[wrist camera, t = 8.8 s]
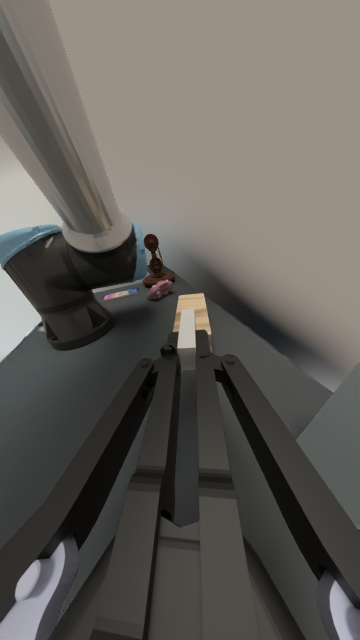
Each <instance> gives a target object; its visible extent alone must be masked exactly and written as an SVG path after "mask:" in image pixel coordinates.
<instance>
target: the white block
mask: <svg viewBox="0 0 360 640" xmlns="http://www.w3.org/2000/svg"><path fill="white" fill-rule="evenodd" d="M296 442H297V443H298V445H299V446H300V447H301V449H302V450H303V452H304V453H305V455H306V456H307V457H308V459H309V460H310V462H311V463H312V465H313V466H314V467H315V469H316V470H317V472H318V473H319V475H320V476H321V478H322V479H323V480H324V482H325V483H326V485H327V486H328V488H329V489H330V490H331V492H332V493H333V495H334V496H335V498H336V499H337V500H338V502H339V503H340V505H341V506H342V508H343V509H344V510H345V512H346V513H347V515H348V516H349V518H350V519H351V520H352V522H353V523H354V525H355V526H356V528H357V529H359V530H360V361H359V362H358V363H357V365H356V366H355V367H354V368H353V370H352V371H351V372H350V373H349V375H348V376H347V377H346V378H345V380H344V381H343V382H342V383H341V385H340V386H339V387H338V389H337V390H336V391H335V392H334V393H333V395H332V396H331V397H330V398H329V400H328V401H327V402H326V403H325V405H324V406H323V407H322V408H321V410H320V411H319V412H318V413H317V415H316V416H315V417H314V418H313V420H312V421H311V422H310V423H309V425H308V426H307V427H306V428H305V430H304V431H303V432H302V433H301V435H300V436H299V437H298V438H297V440H296Z"/></svg>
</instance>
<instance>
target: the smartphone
mask: <svg viewBox="0 0 360 640" xmlns="http://www.w3.org/2000/svg"><path fill="white" fill-rule="evenodd" d="M139 293H140V291H139V288H134V289H130V290H126V291H121V292H117V293H113V294H108V295H105V296H104V297H103V299H102V302H106V301H111V300H115V299H119V298H123V297H128V296H132V295H136V294H139Z"/></svg>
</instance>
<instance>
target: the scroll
mask: <svg viewBox="0 0 360 640" xmlns="http://www.w3.org/2000/svg"><path fill="white" fill-rule="evenodd" d="M158 244H159V243H158V239H157V237H156V236H155V235H153V234H148V235H146V237H145V238H144V245H145V247H146V248H147V249H149V251H151V254H152V259H151V260H150V270H151V271H152V272H153V273H155V274H151V275H149V276H147V277H146V278H145V279H144V280H143V283H144V284H145V285H148V286H149V288H151V286H153V285H156V284H157V283H158V282H160V281H166V280H168V281H171V282H172V280H174V279H175V276H174V274H172V273H169V272H163V270H164V265H163V262H161V260H162V258H161V254H160V251H159V248H158ZM157 248H158V251H159V255H160V258H161V260H160V259H158V258H157V256H156V253H155V251H156V250H157Z"/></svg>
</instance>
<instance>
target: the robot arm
mask: <svg viewBox="0 0 360 640" xmlns="http://www.w3.org/2000/svg"><path fill="white" fill-rule="evenodd" d="M0 136H1V137H2V139H3V140H4V141H5V143H6V144H7V145H8V147H9V148H10V149H11V151H12V152H13V154H14V155H15V156H16V158H17V159H18V160H19V162H20V163H21V164H22V166H23V167H24V168H25V170H26V171H27V173H28V174H29V175H30V176H31V178H32V179H33V180H34V182H35V183H36V185H37V186H38V187H39V189H40V190H41V191H42V193H43V194H44V196H45V197H46V198H47V200H48V201H49V202H50V204H51V205H52V206H53V208H54V209H55V210H56V212H57V213H58V214H59V216H60V217H61V219H62V220H63V221H64V222H63V226H62V229H61V227H59V226H57V225H40V226H36V227H28V228H23V229H19V230H15V231H11V232H8V233H5V234H2V235H0V264H1V267H2V269H3V270H5V271H6V272H7V274H8V275H9V276H10V277H11V279H12V280H13V281H14V282H15V284H16V285H17V286H18V287H19V289H20V290H21V291H22V292H23V294H24V295H25V296H26V298H27V299H28V300H29V301H30V302H31V304H32V305H33V307H34V308H35V309H36V310H37V312H38V313H39V314H40V316H41V318H42V322H43V325H44V329H45V333H46V337H47V340H48V341H49V343H50V344H51V345H52V346H53V347H54V348H55V349H58V350H68V349H73V348H77V347H81V346H83V345H86V344H88V343H90V342H93V341H94V340H96V339H98V338H100V337H101V336H103V335H104V334H105V333H106V332H108V331H109V330H110V329H111V327H112V326H113V324H114V320H113V317H112V315H111V313H110V312H109V311H108V310H107V309H106V308H105V307H104V306H103V305H102V304H101V303H100V302H99V301H98V300H97V299H96V297H95V296H94V294H93V292H92V289H96V288H102V287H108V286H113V285H118V284H123V283H128V282H134V281H136V280H140V279H143V278H144V277H145V276H146V274H147V260H146V254H145V246H144V240H143V235H142V231H141V228H140V225H139V224H138V223H134V222H131V219H130V217H129V215H128V214H127V212H126V211H125V210H123V209H122V208H121V207H119V206H117V203H116V200H115V197H114V194H113V192H112V188H111V185H110V182H109V180H108V176H107V173H106V171H105V167H104V164H103V162H102V159H101V156H100V153H99V150H98V147H97V144H96V141H95V138H94V135H93V132H92V129H91V126H90V123H89V120H88V117H87V114H86V111H85V108H84V105H83V102H82V99H81V96H80V93H79V90H78V87H77V84H76V81H75V78H74V75H73V72H72V69H71V66H70V63H69V60H68V57H67V54H66V51H65V48H64V45H63V42H62V39H61V36H60V33H59V30H58V27H57V24H56V21H55V19H54V16H53V13H52V9H51V7H50V4H49V1H48V0H0ZM160 352H161V355H162V357H161V358H159V359H157V360H154V361H152V359H150V358H145V359H142V360H141V361H140V362H139V363H138V364H137V366H136V367H135V369H134V370H133V372H132V373H131V375H130V376H129V378H128V379H127V380H126V382H125V383H124V385H123V386H122V388H121V389H120V391H119V392H118V394H117V395H116V397H115V398H114V400H113V401H112V403H111V404H110V406H109V407H108V409H107V410H106V412H105V413H104V415H103V416H102V418H101V419H100V421H99V422H98V423H97V425H96V426H95V428H94V429H93V431H92V432H91V434H90V435H89V437H88V438H87V440H86V441H85V443H84V444H83V446H82V447H81V449H80V450H79V452H78V453H77V455H76V456H75V458H74V459H73V461H72V462H71V464H70V465H69V466H68V468H67V469H66V471H65V472H64V474H63V475H62V477H61V478H60V480H59V481H58V483H57V484H56V486H55V487H54V489H53V490H52V492H51V493H50V495H49V496H48V498H47V499H46V501H45V502H44V504H43V505H42V506H41V507H40V508H39V509H38V510H37V511H36V512H35V513H34V514H33V516H32V517H31V518H30V519H29V520H28V521H27V522H26V523H25V524H24V525H23V526H22V527H21V529H20V530H19V531H18V532H17V533H16V534H15V535H14V536H13V537H12V538H11V539H10V540H9V542H8V543H7V544H6V545H5V546H4V547H3V548H2V549H1V550H0V640H306V639H305V637H304V635H303V634H302V632H301V630H300V628H299V627H298V625H297V623H296V621H295V620H294V618H293V616H292V614H291V612H290V611H289V609H288V607H287V605H286V604H285V602H284V600H283V598H282V597H281V595H280V593H279V591H278V590H277V588H276V586H275V584H274V583H273V581H272V579H271V577H270V576H269V574H268V572H267V570H266V568H265V567H264V565H263V563H262V561H261V560H260V558H259V556H258V555H257V553H256V552H255V551H254V549H253V548H252V546H251V545H250V544H249V543H248V541H247V540H246V539H245V538H244V537H243V536H242V531H241V525H240V519H239V513H238V507H237V501H236V495H235V490H234V485H233V481H232V478H231V473H230V467H229V460H228V454H227V448H226V442H225V435H224V429H223V423H222V416H221V410H220V404H219V398H218V391H217V385H216V381H217V382H221V384H222V386H223V388H224V390H225V393H226V395H227V397H228V399H229V401H230V403H231V405H232V408H233V410H234V412H235V414H236V416H237V418H238V420H239V423H240V425H241V427H242V429H243V431H244V433H245V435H246V438H247V440H248V442H249V444H250V446H251V448H252V450H253V453H254V455H255V457H256V459H257V461H258V463H259V465H260V468H261V470H262V472H263V474H264V476H265V478H266V480H267V483H268V485H269V487H270V489H271V491H272V493H273V495H274V498H275V500H276V502H277V504H278V506H279V508H280V510H281V513H282V515H283V517H284V519H285V521H286V523H287V525H288V527H289V529H290V531H291V533H292V535H293V537H294V539H295V541H296V543H297V545H298V547H299V549H300V551H301V552H302V554H303V556H304V558H305V559H306V561H307V563H308V565H309V566H310V568H311V570H312V572H313V573H314V575H315V576H316V578H317V579H318V581H319V583H318V587H317V603H318V608H319V613H320V616H321V619H322V622H323V624H324V627H325V630H326V632H327V634H328V636H329V638H330V640H360V532H359V530H358V529H357V528H356V526H355V525H354V523H353V522H352V520H351V519H350V518H349V516H348V515H347V513H346V512H345V510H344V509H343V508H342V506H341V505H340V503H339V502H338V500H337V499H336V498H335V496H334V495H333V493H332V492H331V490H330V489H329V488H328V486H327V485H326V483H325V482H324V480H323V479H322V478H321V476H320V475H319V473H318V472H317V470H316V469H315V467H314V466H313V465H312V463H311V462H310V460H309V459H308V457H307V456H306V455H305V453H304V452H303V450H302V449H301V447H300V446H299V445H298V443H297V442H296V440H295V439H294V437H293V436H292V435H291V433H290V432H289V430H288V429H287V427H286V426H285V425H284V423H283V422H282V420H281V419H280V417H279V416H278V415H277V413H276V412H275V410H274V409H273V407H272V406H271V405H270V403H269V402H268V400H267V399H266V397H265V396H264V395H263V393H262V392H261V390H260V389H259V387H258V386H257V385H256V383H255V382H254V380H253V379H252V377H251V376H250V375H249V373H248V372H247V370H246V369H245V367H244V366H243V365H242V363H241V362H240V360H239V359H238V358H237V357H236V356H234V355H231V354H226V355H224V356H223V357H219V356H216V355H214V354H212V352H211V350H210V345H209V339H208V332H207V331H206V330H205V329H203V330H196V323H195V312H194V308H193V309H182V311H181V319H180V328H179V331H177V332H171V333H170V334H169V336H168V341H167V344H166V345H164V346H162V347H161V349H160ZM181 370H196V390H197V423H198V456H199V517H200V521H198V522H195V523H192V524H190V525H187V526H184V527H180V526H179V525H177V524H175V523H174V507H175V489H174V480H175V464H176V449H177V433H178V418H179V402H180V387H181ZM151 401H152V403H151ZM150 403H151V408H150V412H149V417H148V421H147V426H146V430H145V435H144V439H143V444H142V448H141V453H140V457H139V461H138V466H137V469H136V471H135V473H134V474H133V476H132V477H131V480H130V482H129V485H128V489H127V492H126V497H125V501H124V505H123V509H122V513H121V517H120V521H119V525H118V529H117V534H116V536H115V537H114V538H113V540H112V541H111V543H110V544H109V546H108V547H107V549H106V550H105V552H104V553H103V555H102V556H101V558H100V560H99V561H98V563H97V564H96V566H95V567H94V569H93V570H92V572H91V573H90V575H89V577H88V578H87V580H86V581H85V583H84V584H83V586H82V587H81V589H80V590H79V592H78V594H77V595H76V597H75V598H74V600H73V601H72V603H71V604H70V606H69V607H68V609H67V611H66V612H65V614H64V615H63V617H62V618H61V620H60V621H59V623H58V624H57V626H56V628H55V625H56V621H57V617H58V614H59V611H60V608H61V605H62V602H63V600H64V598H65V596H66V594H67V592H68V590H69V588H70V586H71V584H72V582H73V580H74V579H75V577H76V574H77V572H78V568H79V558H78V555H79V554H78V551H79V549H80V548H81V546H82V545H83V543H84V542H85V540H86V538H87V537H88V535H89V533H90V531H91V530H92V528H93V526H94V524H95V523H96V521H97V519H98V517H99V515H100V513H101V510H102V508H103V506H104V504H105V502H106V500H107V498H108V495H109V493H110V491H111V489H112V487H113V485H114V482H115V480H116V478H117V476H118V474H119V471H120V469H121V467H122V465H123V463H124V460H125V458H126V456H127V454H128V452H129V449H130V447H131V445H132V443H133V441H134V439H135V436H136V434H137V432H138V430H139V428H140V425H141V423H142V421H143V419H144V417H145V414H146V412H147V410H148V408H149V406H150Z"/></svg>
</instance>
